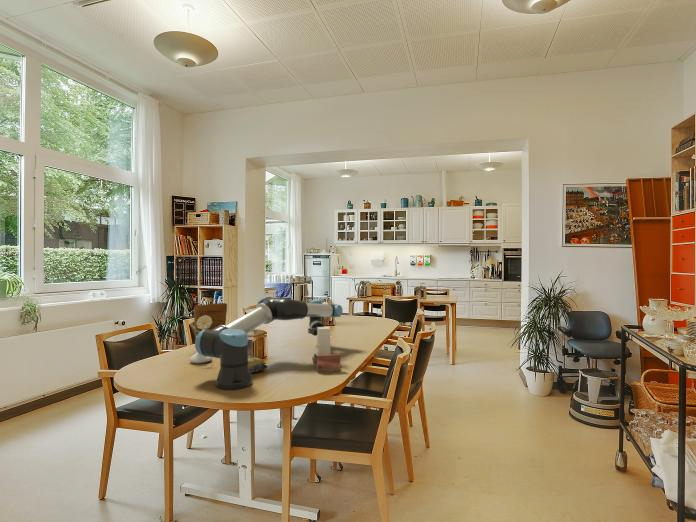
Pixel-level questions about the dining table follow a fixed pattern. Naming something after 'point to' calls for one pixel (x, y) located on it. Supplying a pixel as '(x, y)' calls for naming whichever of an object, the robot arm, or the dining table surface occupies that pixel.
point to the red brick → (327, 362)
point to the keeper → (323, 340)
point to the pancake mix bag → (211, 314)
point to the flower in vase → (202, 324)
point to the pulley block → (256, 364)
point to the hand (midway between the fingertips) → (322, 335)
